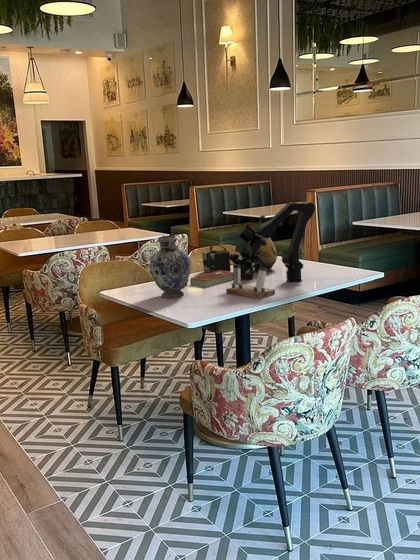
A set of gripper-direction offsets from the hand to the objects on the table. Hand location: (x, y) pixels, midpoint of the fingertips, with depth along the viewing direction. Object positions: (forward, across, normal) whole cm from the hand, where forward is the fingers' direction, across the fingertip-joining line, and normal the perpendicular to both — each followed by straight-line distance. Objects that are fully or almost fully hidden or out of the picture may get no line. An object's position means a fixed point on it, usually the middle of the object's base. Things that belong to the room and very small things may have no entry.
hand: (238, 275), depth 246 cm
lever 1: (+4, 0, +2) cm, 5 cm away
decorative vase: (+21, -22, -10) cm, 32 cm away
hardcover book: (0, -28, +12) cm, 30 cm away
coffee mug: (-10, -16, +22) cm, 29 cm away
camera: (-14, -47, +26) cm, 55 cm away
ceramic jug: (-25, -26, +37) cm, 52 cm away
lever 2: (+4, +14, +2) cm, 15 cm away
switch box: (+5, +7, +6) cm, 10 cm away
